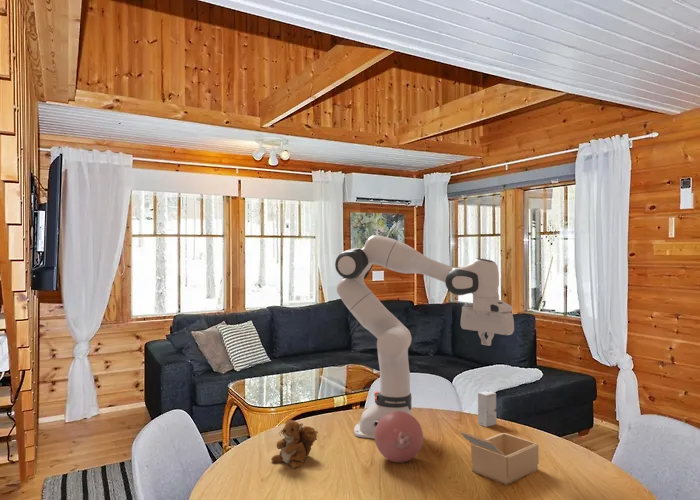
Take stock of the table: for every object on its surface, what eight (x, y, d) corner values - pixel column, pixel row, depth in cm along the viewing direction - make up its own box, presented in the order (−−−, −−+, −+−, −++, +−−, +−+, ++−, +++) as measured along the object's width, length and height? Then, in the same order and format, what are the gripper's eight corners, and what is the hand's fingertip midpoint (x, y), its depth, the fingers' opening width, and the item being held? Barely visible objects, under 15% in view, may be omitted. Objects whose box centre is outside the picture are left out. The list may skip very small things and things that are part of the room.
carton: (503, 456, 162) (503, 431, 163) (540, 470, 152) (540, 443, 152) (470, 470, 152) (470, 444, 152) (508, 486, 142) (507, 457, 142)
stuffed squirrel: (268, 462, 159) (268, 421, 160) (301, 449, 170) (301, 410, 170) (289, 471, 153) (289, 428, 153) (322, 457, 163) (322, 416, 164)
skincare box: (486, 427, 190) (486, 395, 190) (477, 424, 194) (477, 392, 194) (497, 424, 193) (497, 392, 193) (488, 421, 197) (488, 390, 197)
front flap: (460, 430, 148) (459, 432, 148) (491, 441, 139) (490, 443, 139) (473, 442, 151) (472, 444, 151) (504, 454, 143) (503, 456, 143)
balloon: (374, 477, 148) (373, 424, 149) (375, 450, 168) (374, 404, 168) (426, 478, 147) (426, 425, 147) (421, 451, 167) (421, 405, 167)
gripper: (456, 303, 181) (456, 341, 181) (505, 308, 165) (505, 350, 165) (467, 302, 185) (468, 340, 185) (516, 306, 169) (516, 347, 168)
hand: (486, 344), depth 174 cm, fingers closed
